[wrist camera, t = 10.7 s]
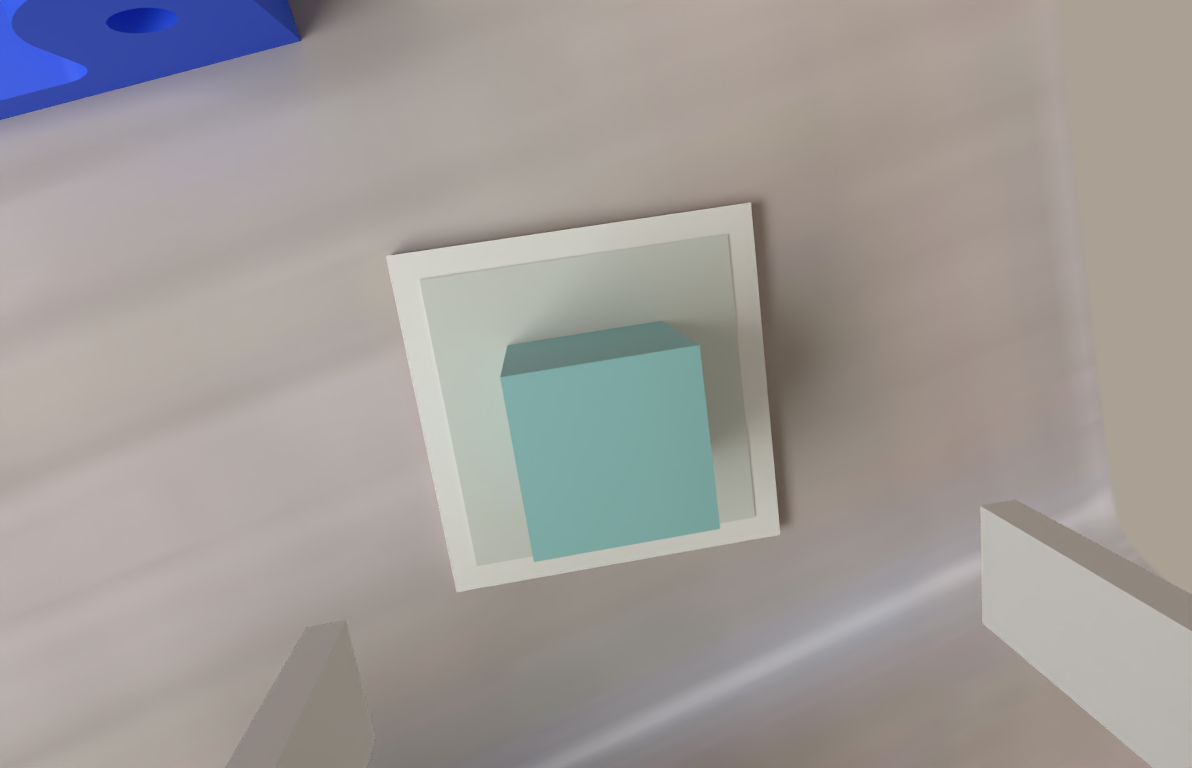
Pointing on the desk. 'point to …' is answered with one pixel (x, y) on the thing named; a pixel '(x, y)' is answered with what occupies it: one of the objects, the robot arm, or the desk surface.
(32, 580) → the desk surface
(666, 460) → the cube
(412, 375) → the white square tray
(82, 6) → the bracket
